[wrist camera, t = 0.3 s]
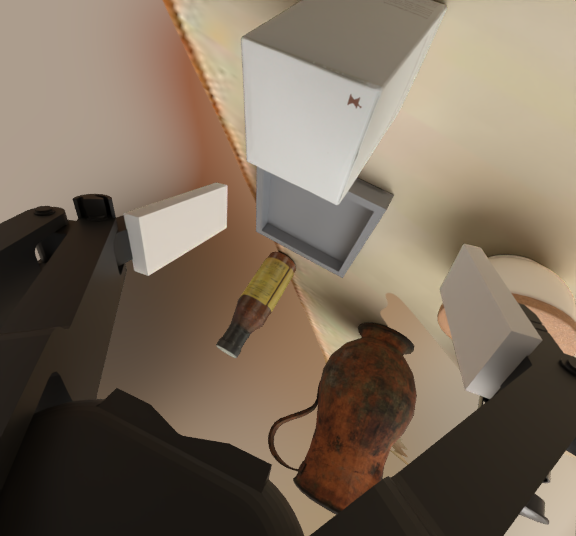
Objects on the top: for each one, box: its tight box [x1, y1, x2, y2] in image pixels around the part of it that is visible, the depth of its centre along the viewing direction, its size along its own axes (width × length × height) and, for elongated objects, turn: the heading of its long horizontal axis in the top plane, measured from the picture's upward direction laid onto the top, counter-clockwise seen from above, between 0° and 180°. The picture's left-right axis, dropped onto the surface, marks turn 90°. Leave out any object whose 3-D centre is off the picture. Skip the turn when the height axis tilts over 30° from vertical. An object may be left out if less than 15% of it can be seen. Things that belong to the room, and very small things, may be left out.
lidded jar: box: [438, 255, 576, 356], centre depth 27 cm, size 11×11×9 cm
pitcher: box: [268, 323, 417, 515], centre depth 49 cm, size 17×21×30 cm
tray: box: [256, 167, 394, 278], centre depth 37 cm, size 16×16×2 cm
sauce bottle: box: [216, 252, 296, 358], centre depth 48 cm, size 7×6×20 cm
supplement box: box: [241, 0, 447, 205], centre depth 18 cm, size 7×7×13 cm
